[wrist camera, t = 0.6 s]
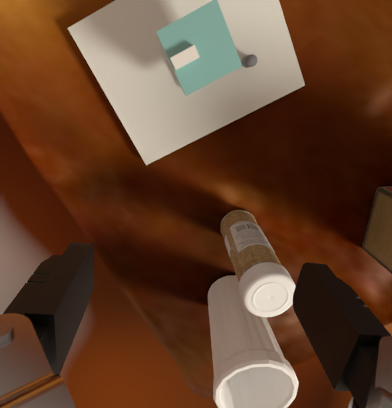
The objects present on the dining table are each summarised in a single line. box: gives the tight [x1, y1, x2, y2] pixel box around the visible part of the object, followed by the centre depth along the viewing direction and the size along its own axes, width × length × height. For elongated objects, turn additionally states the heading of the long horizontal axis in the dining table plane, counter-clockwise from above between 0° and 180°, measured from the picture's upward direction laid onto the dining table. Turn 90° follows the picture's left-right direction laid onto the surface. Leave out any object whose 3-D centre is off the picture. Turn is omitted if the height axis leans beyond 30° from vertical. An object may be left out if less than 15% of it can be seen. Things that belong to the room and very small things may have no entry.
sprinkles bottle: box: [220, 210, 296, 317], centre depth 31 cm, size 5×5×13 cm
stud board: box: [68, 0, 305, 165], centre depth 27 cm, size 18×14×5 cm
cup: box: [208, 275, 299, 408], centre depth 34 cm, size 8×8×14 cm
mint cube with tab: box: [156, 0, 242, 96], centre depth 22 cm, size 4×4×6 cm
